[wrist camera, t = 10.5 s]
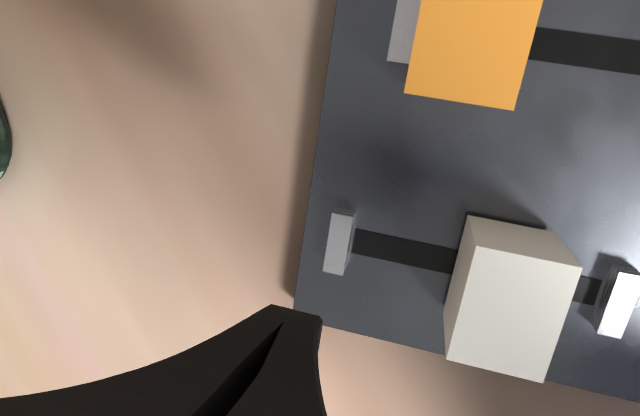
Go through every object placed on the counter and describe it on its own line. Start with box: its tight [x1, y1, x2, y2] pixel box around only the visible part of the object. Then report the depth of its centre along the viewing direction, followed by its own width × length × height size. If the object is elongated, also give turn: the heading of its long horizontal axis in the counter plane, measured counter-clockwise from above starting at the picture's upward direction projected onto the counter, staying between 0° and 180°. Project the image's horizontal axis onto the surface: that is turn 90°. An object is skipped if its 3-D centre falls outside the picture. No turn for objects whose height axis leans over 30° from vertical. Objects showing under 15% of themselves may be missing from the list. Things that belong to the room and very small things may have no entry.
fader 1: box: [404, 0, 543, 111], centre depth 14 cm, size 4×3×3 cm
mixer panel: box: [293, 0, 640, 403], centre depth 17 cm, size 16×15×2 cm
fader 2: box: [443, 215, 583, 383], centre depth 16 cm, size 4×3×3 cm
